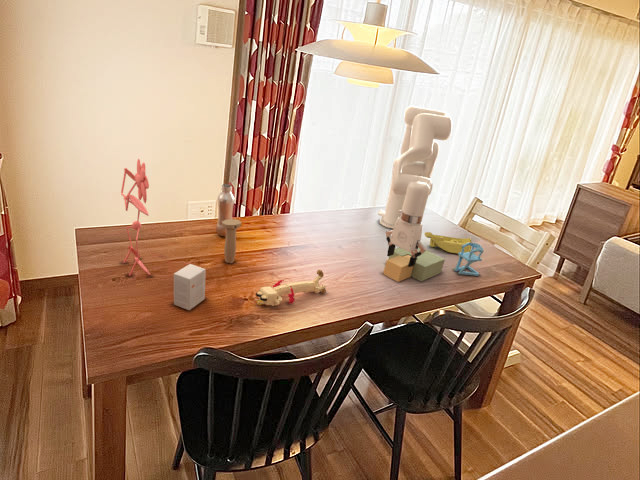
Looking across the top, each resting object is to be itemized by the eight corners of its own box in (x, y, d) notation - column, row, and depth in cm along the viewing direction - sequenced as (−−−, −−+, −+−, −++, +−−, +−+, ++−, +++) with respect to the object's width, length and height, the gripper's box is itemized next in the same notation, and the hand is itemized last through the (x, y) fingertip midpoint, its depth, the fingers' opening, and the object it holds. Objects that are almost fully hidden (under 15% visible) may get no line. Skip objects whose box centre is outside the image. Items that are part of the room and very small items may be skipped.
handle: (240, 262, 169) (243, 223, 161) (224, 266, 165) (227, 226, 158) (233, 257, 172) (236, 218, 165) (217, 260, 168) (219, 220, 161)
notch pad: (387, 264, 185) (390, 250, 183) (407, 256, 195) (411, 243, 192) (421, 281, 176) (425, 267, 174) (441, 272, 186) (445, 258, 183)
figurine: (131, 289, 143) (125, 175, 127) (116, 252, 162) (109, 149, 145) (182, 282, 151) (183, 174, 134) (162, 248, 170) (160, 149, 153)
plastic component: (460, 238, 215) (473, 238, 205) (458, 255, 215) (470, 255, 206) (420, 232, 210) (431, 231, 200) (418, 249, 210) (429, 249, 201)
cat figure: (310, 286, 163) (247, 296, 148) (315, 263, 160) (251, 271, 144) (328, 300, 157) (264, 312, 141) (334, 276, 153) (269, 286, 137)
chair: (450, 267, 191) (459, 240, 185) (467, 267, 194) (476, 240, 189) (462, 277, 185) (471, 249, 179) (479, 276, 188) (488, 248, 182)
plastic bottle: (236, 235, 189) (239, 186, 179) (224, 239, 184) (227, 189, 174) (224, 230, 192) (226, 181, 182) (212, 234, 186) (214, 184, 177)
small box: (189, 293, 146) (190, 263, 141) (205, 299, 144) (206, 268, 139) (173, 305, 139) (172, 273, 134) (189, 311, 138) (189, 279, 133)
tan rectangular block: (383, 274, 177) (386, 259, 174) (401, 267, 185) (404, 253, 182) (398, 282, 173) (401, 267, 170) (415, 274, 181) (419, 260, 178)
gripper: (385, 210, 170) (376, 253, 178) (425, 228, 160) (413, 273, 168) (398, 207, 175) (388, 249, 183) (437, 224, 165) (425, 267, 173)
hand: (400, 260), depth 176 cm, fingers open, 9 cm apart
